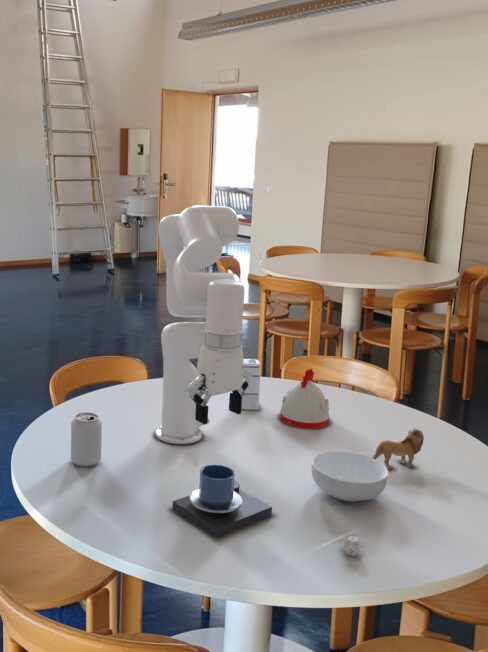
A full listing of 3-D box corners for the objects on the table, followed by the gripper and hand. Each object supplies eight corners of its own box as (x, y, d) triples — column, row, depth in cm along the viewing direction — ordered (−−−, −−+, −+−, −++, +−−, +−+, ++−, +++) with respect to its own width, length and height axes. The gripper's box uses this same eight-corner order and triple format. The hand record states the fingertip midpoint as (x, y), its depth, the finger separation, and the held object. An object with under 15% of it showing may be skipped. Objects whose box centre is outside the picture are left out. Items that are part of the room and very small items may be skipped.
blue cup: (216, 487, 156) (218, 461, 155) (240, 500, 150) (241, 474, 149) (191, 496, 151) (193, 469, 150) (215, 509, 146) (216, 482, 145)
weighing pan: (216, 484, 159) (216, 482, 158) (252, 503, 150) (252, 501, 150) (179, 497, 152) (179, 495, 152) (214, 518, 143) (214, 516, 143)
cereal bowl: (344, 518, 152) (347, 487, 151) (294, 485, 167) (296, 457, 165) (402, 502, 160) (405, 473, 158) (349, 473, 174) (351, 446, 173)
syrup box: (258, 410, 216) (262, 364, 213) (239, 409, 216) (242, 363, 213) (256, 403, 222) (259, 358, 219) (237, 403, 222) (240, 358, 219)
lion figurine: (411, 457, 184) (415, 425, 183) (426, 466, 180) (430, 432, 178) (364, 464, 179) (368, 430, 178) (378, 473, 174) (381, 438, 173)
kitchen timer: (334, 417, 211) (339, 369, 208) (319, 432, 200) (323, 381, 197) (290, 408, 219) (293, 361, 215) (272, 421, 207) (276, 371, 204)
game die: (341, 555, 138) (342, 541, 137) (343, 546, 141) (344, 532, 141) (360, 559, 137) (361, 545, 136) (361, 550, 140) (363, 536, 139)
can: (96, 469, 172) (97, 422, 170) (66, 466, 173) (67, 419, 171) (104, 457, 179) (105, 412, 177) (75, 453, 181) (76, 409, 178)
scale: (225, 489, 164) (226, 475, 163) (272, 515, 153) (273, 500, 152) (171, 509, 154) (171, 494, 153) (216, 538, 143) (217, 522, 142)
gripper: (239, 329, 155) (235, 403, 159) (179, 341, 145) (175, 419, 149) (265, 337, 150) (259, 414, 153) (203, 350, 139) (199, 432, 143)
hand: (218, 417), depth 151 cm, fingers open, 9 cm apart
